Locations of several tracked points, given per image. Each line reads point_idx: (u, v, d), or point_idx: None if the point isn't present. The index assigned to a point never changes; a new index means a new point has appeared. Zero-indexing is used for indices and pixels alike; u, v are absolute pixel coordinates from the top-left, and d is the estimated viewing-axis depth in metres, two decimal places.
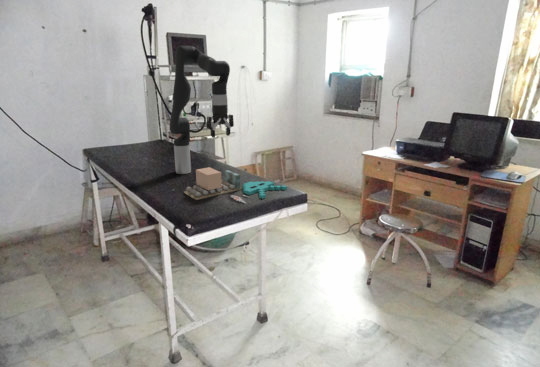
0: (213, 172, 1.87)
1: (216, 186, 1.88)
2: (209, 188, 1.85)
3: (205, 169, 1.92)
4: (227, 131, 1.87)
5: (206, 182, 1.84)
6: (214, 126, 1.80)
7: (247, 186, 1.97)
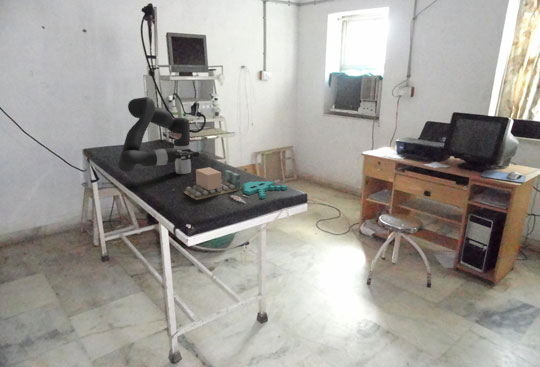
0: (213, 172, 1.87)
1: (216, 186, 1.88)
2: (209, 188, 1.85)
3: (205, 169, 1.92)
4: None
5: (206, 182, 1.84)
6: None
7: (247, 186, 1.97)
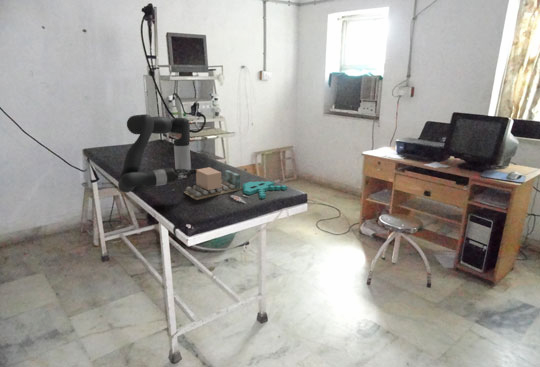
0: (213, 172, 1.87)
1: (216, 186, 1.88)
2: (209, 188, 1.85)
3: (205, 169, 1.92)
4: None
5: (206, 182, 1.84)
6: None
7: (247, 186, 1.97)
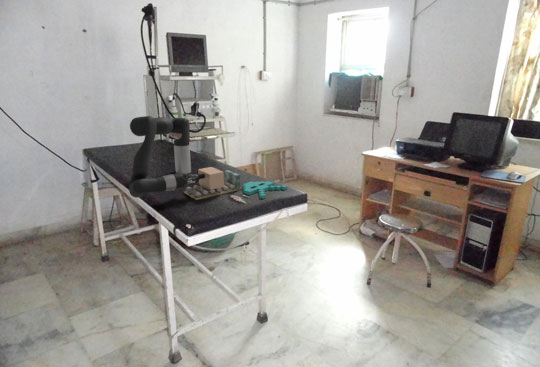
0: (216, 172, 1.88)
1: (218, 185, 1.89)
2: (211, 187, 1.86)
3: (207, 169, 1.93)
4: None
5: (209, 181, 1.85)
6: None
7: (247, 186, 1.97)
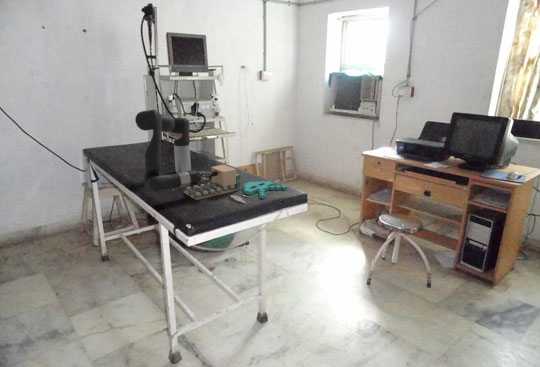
0: (228, 169, 1.93)
1: (231, 183, 1.93)
2: (224, 185, 1.91)
3: (220, 166, 1.98)
4: None
5: (222, 178, 1.90)
6: None
7: (247, 186, 1.97)
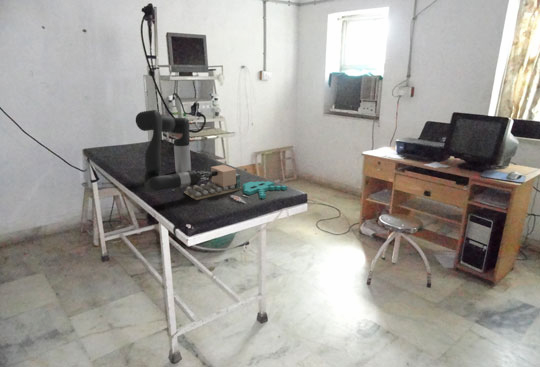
0: (228, 169, 1.92)
1: (231, 183, 1.93)
2: (224, 185, 1.91)
3: (220, 166, 1.98)
4: None
5: (222, 178, 1.90)
6: None
7: (247, 186, 1.97)
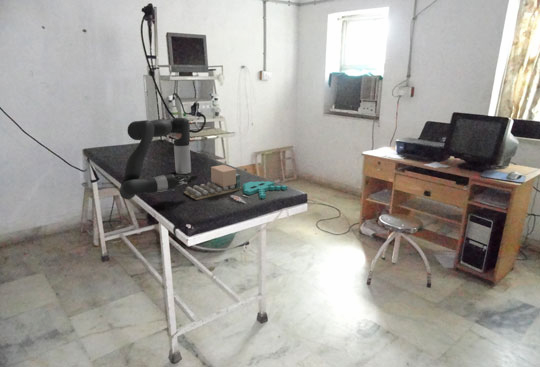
0: (228, 169, 1.92)
1: (231, 183, 1.93)
2: (224, 185, 1.91)
3: (220, 166, 1.98)
4: None
5: (222, 178, 1.90)
6: None
7: (247, 186, 1.97)
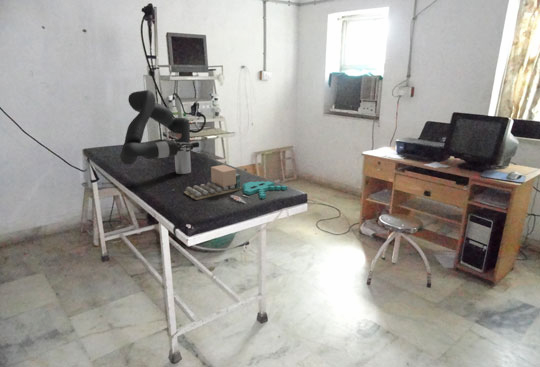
0: (228, 169, 1.92)
1: (231, 183, 1.93)
2: (224, 185, 1.91)
3: (220, 166, 1.98)
4: None
5: (222, 178, 1.90)
6: None
7: (247, 186, 1.97)
